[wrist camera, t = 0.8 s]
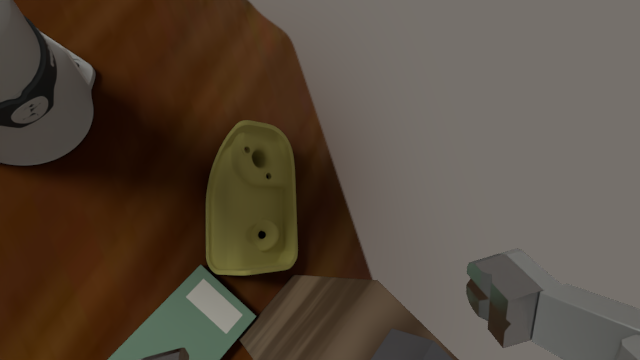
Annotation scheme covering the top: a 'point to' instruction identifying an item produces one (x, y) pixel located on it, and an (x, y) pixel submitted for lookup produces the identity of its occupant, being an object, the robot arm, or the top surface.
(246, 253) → the plastic component
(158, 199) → the top surface
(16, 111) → the robot arm
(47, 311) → the top surface
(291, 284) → the block
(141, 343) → the board
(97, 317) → the top surface
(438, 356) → the plug
